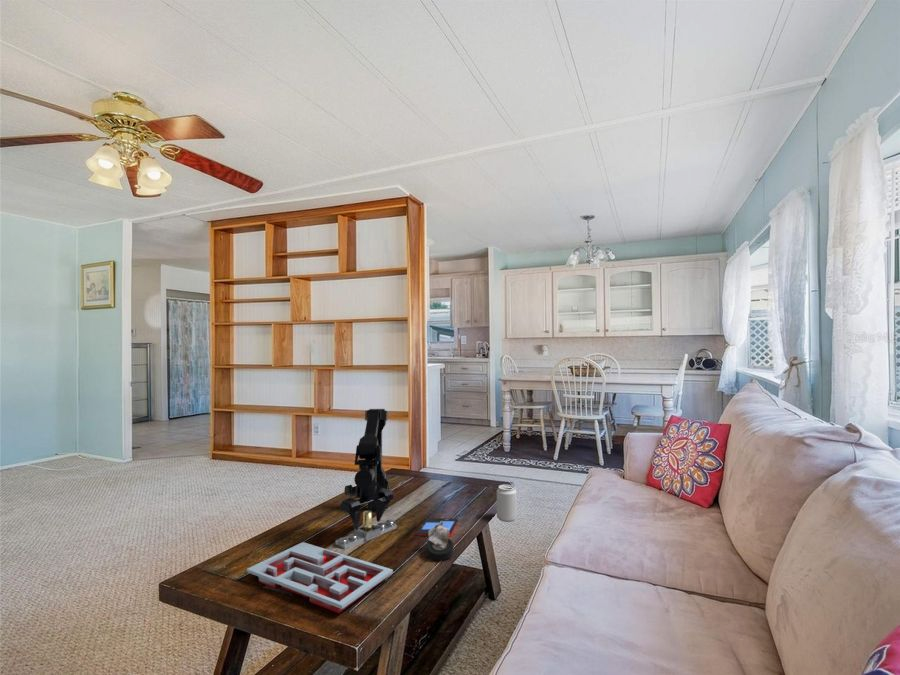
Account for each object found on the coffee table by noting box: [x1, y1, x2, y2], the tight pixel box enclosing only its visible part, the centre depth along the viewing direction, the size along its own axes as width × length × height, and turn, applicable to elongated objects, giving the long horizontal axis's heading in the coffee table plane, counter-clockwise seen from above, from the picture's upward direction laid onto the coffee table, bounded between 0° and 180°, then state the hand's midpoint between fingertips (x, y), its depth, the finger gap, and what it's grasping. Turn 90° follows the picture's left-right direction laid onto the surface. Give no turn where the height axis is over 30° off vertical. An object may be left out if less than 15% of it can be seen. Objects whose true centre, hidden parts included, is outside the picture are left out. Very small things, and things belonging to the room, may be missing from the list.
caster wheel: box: [425, 521, 454, 562], centre depth 137 cm, size 7×11×10 cm
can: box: [496, 484, 518, 523], centre depth 165 cm, size 8×8×12 cm
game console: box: [414, 517, 459, 539], centre depth 155 cm, size 14×13×2 cm
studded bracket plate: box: [335, 519, 398, 550], centre depth 149 cm, size 23×6×2 cm, turn 139°
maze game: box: [246, 541, 394, 614], centre depth 121 cm, size 35×20×3 cm, turn 60°
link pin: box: [362, 509, 373, 532], centre depth 150 cm, size 3×3×8 cm
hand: (367, 525), depth 150 cm, fingers open, 9 cm apart
